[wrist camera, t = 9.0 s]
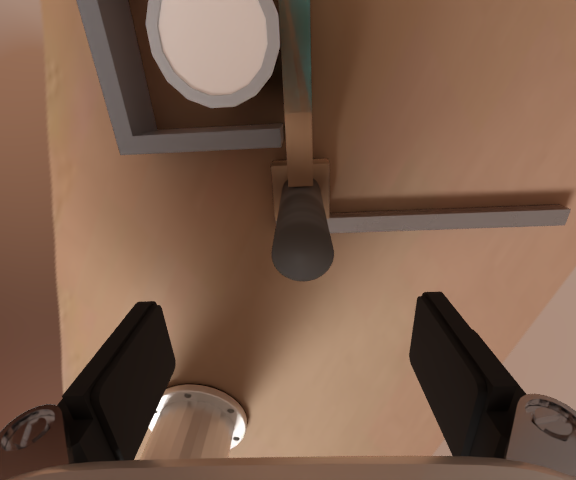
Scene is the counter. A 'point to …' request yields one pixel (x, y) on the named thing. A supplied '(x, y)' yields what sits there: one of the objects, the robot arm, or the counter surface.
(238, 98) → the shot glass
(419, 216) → the rail
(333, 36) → the counter surface
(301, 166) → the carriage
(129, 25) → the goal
